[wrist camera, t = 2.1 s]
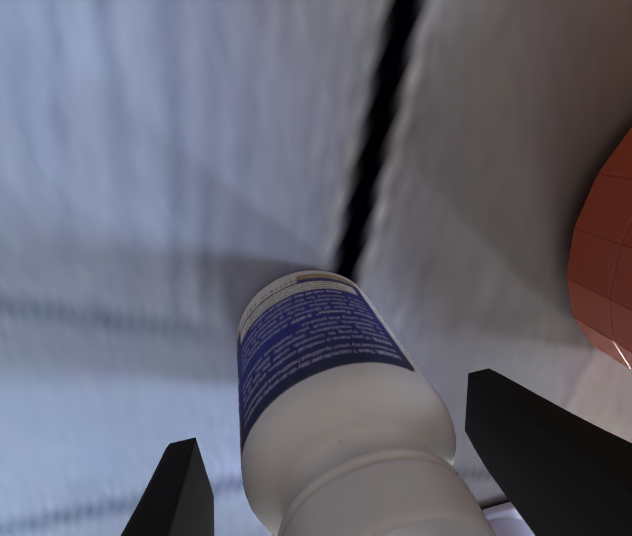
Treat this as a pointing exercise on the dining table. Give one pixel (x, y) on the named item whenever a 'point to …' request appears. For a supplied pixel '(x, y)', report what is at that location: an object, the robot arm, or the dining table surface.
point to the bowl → (605, 259)
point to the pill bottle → (342, 420)
